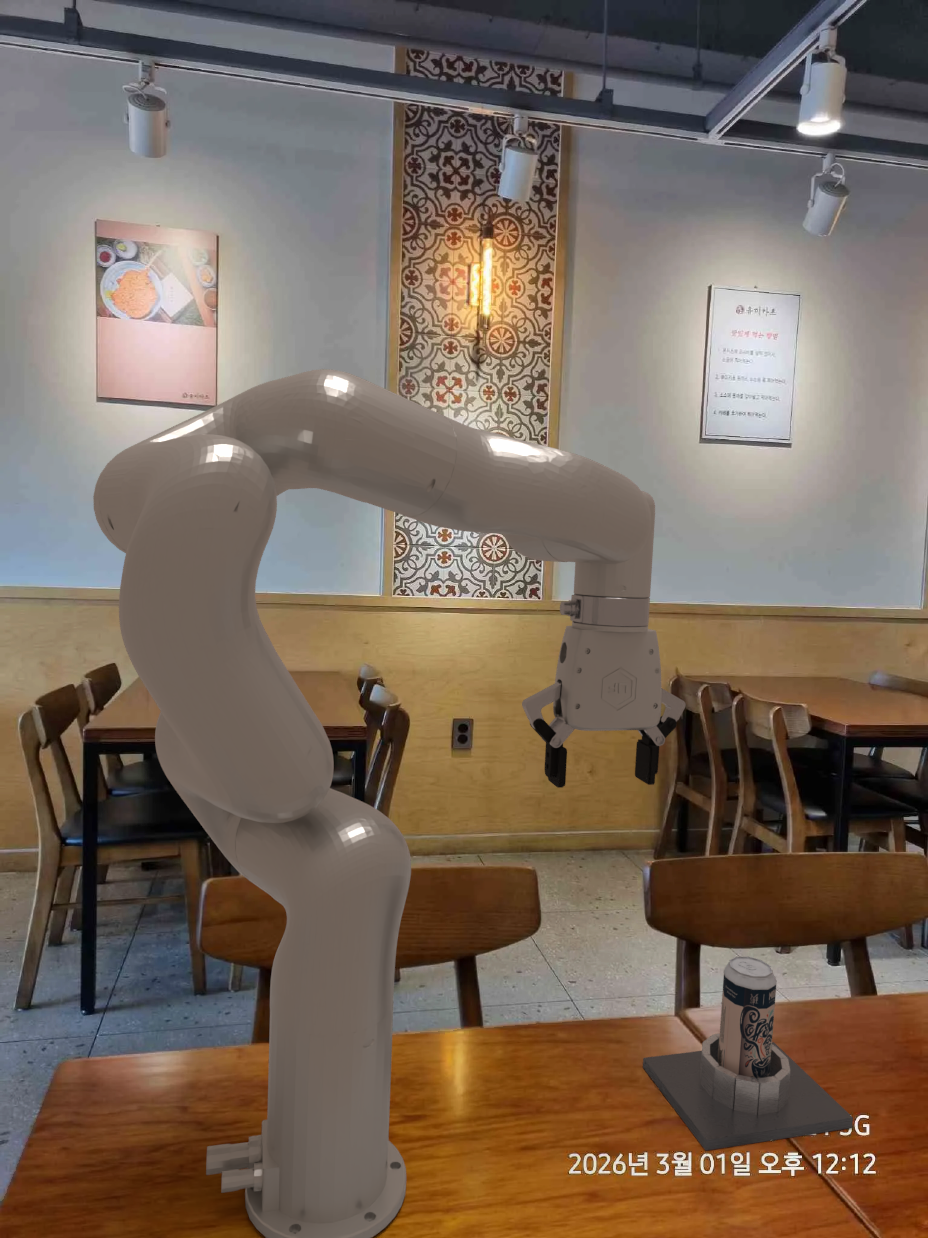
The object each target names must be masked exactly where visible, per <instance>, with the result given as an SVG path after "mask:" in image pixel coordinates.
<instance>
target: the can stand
mask: <svg viewBox="0 0 928 1238" xmlns="http://www.w3.org/2000/svg"><path fill="white" fill-rule="evenodd" d="M719 1036H720V1033H715V1034H712V1035H710V1036H709V1037H707V1038H706V1039H705V1040H704V1041H702V1044H701V1045H702V1046H701V1050H697V1051H689V1052H681V1053H672V1054H664V1055H656V1056H647V1057H643V1058H642V1059H643V1060H642V1069H643V1070H644V1071H645V1073H647V1075H648V1077H650V1079H651V1080H652V1082H653V1083H654V1084H655V1085H656V1088H658V1089H659V1092H661V1093H662V1095H663V1096H664V1097H665V1099H666V1100H667V1102H669V1104H670V1106H671V1107H672V1108H673V1110H674V1111H675V1112H676V1113H677V1115H678V1116H679V1117H680V1119H681V1120H682V1121H683V1122H684V1124H685V1126H686V1127H687V1128H688V1129H689V1131H690V1132H691V1133H692V1134H693V1136H694V1138H695V1139H696V1140H697V1141H698V1143H699V1145H701V1147H702V1149H704V1151H706V1152H707V1151H713V1150H719V1149H724V1148H725V1149H726V1148H733V1147H738V1146H745V1145H750V1144H757V1143H758V1144H759V1143H764V1142H769V1141H770V1142H771V1141H776V1140H783V1139H788V1138H789V1139H790V1138H797V1137H801V1136H802V1137H803V1136H809V1135H816V1134H822V1133H827V1132H829V1133H830V1132H834V1131H841V1130H847V1129H852V1128H853V1123H854V1122H853V1121H854V1117H853V1116H852V1114H850V1113H849V1112H848V1111H847V1110H846V1109H845V1108H844V1107H843V1106H842V1105H840V1103H839V1102H838V1101H836V1100H835V1099H834V1098H833V1097H832V1096H831V1095H830V1094H829V1093H828V1092H827V1091H826V1090H824V1089H825V1088H823V1087H822V1086H820V1085H819V1083H817V1082H816V1081H815V1080H814V1079H813V1078H812V1077H811V1076H810V1075H809V1074H808V1073H807V1072H806V1070H804V1069H803V1068H801V1067H800V1065H798V1063H796V1061H794V1059H792V1058H791V1056H789V1055H788V1054H787V1053H786V1052H785V1051H783V1050H782V1048H781V1047H779V1045H778V1044H777V1043H775V1042H774V1041H772V1048H771V1061H770V1075H769V1077H764V1078H752V1077H747V1076H742V1075H737V1074H735V1073H733V1072H731V1071H729V1070H727V1069H725V1068H723V1067H721V1066H720V1065H719V1064H718V1050H719Z"/></svg>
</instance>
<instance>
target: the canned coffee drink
mask: <svg viewBox="0 0 928 1238" xmlns="http://www.w3.org/2000/svg"><path fill="white" fill-rule="evenodd" d="M722 981H723V983H722V996H721V1009H720V1010H721V1011H720V1020H719V1021H720V1024H719V1025H720V1026H719V1034H720V1036H719V1050H718V1064H719V1065H720V1066H721V1067H723V1068H725V1069H727V1070H729V1071H731V1072H733V1073H735V1074H737V1075H742V1076H747V1077H752V1078H764V1077H769V1075H770V1061H771V1048H772V1042H773V1035H774V1033H773V1032H774V1021H775V1020H774V1019H775V1007H776V996H777V995H776V994H777V984H778V983H777V982H778V981H777V978H776V976H775V974H774V972H773V969H772V967H771V965H770V964H768V963H766V962H765V961H763V960H762V959H759V958H756V957H751V956H734V957H733V958H731V959H729V962H728V963H727V964H726V965H725V966H724V968H723V980H722Z"/></svg>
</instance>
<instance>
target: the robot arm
mask: <svg viewBox="0 0 928 1238" xmlns="http://www.w3.org/2000/svg"><path fill="white" fill-rule="evenodd" d="M301 489H302V490H303V489H304V490H305V489H317V490H323V491H327V492H331V493H334V494H338V495H341V496H344V497H347V498H350V499H353V500H356V501H359V502H361V503H367V504H369V505H372V506H375V507H379V508H381V509H384V510H387V511H390V512H393V513H396V514H399V515H402V516H404V517H407V518H409V519H413V520H416V521H418V522H420V523H424V524H427V525H430V526H434V527H437V528H444V529H450V530H455V531H461V532H468V533H477V534H478V533H480V534H481V533H482V534H498V535H499V534H502V535H503V537H504V539H505V541H506V542H507V543H508V545H509V546H510V547H511V548H512V549H513V550H514V551H515V552H516V553H518V554H520V555H522V556H523V557H525V558H528V559H531V560H535V561H541V562H542V561H543V562H555V563H556V562H557V563H558V562H559V563H570V562H571V563H575V564H574V565H575V566H574V576H573V577H574V581H573V582H574V583H573V594H572V595H571V599H570V600H568V601H561V602H560V604H559V613H560V615H562V616H568V617H569V620H570V621H571V625H566V626H565V629H564V634H563V636H562V641H561V644H560V645H561V646H560V650H559V654H558V659H557V665H556V671H555V680H554V683H553V684H551V685H549V686H547V687H545V688H544V689H542V690H540V691H538V692H535V693H534V694H532V695H530V696H529V697H527V698H525V699H523V701H522V702H521V707H522V709H523V710H524V713H525V715H526V717H527V720H528V721H529V725H530V727H531V728H532V729H533V730H534V731H535V733H537V735H538V736H539V737H540V738H541V739H542V741H544V742H545V750H544V751H545V753H544V775H545V776H546V777H547V779H548V781H549V782H550V783H551V784H552V785H554V787H556V788H559V789H560V788H564V787H566V779H567V778H566V777H567V762H568V761H567V760H568V759H567V758H568V750H567V748H566V747H565V746H564V743H565V741H566V740H568V738H569V736H570V735H571V734H573V732H574V731H575V730H576V731H577V730H578V731H587V732H588V731H589V732H591V731H592V732H595V731H596V732H597V731H598V732H599V731H600V732H601V731H602V732H603V731H604V732H605V731H608V732H609V731H638V733H639V734H640V736H641V739H638V740H637V741H636V748H635V749H636V750H635V751H636V752H635V762H634V763H635V766H634V767H635V768H634V776H635V778H636V779H638V780H640V781H641V782H643V783H645V784H647V785H648V786H649V785H650V786H653V785H655V783H656V775H657V774H658V772H659V771H658V770H659V762H660V761H659V759H660V757H659V756H660V747H661V746H663V745H664V744H665V742H666V738H667V737H668V736H669V735H670V734H671V733H673V731H674V730H675V729H676V728H677V725H678V723H677V722H678V721H679V720H680V718H681V716H682V714H683V712H684V710H685V708H686V706H687V705H686V701H684V700H683V699H681V698H680V697H678V696H676V695H674V694H672V693H671V692H669V691H667V690H666V689H664V688H662V667H661V666H662V664H661V656H660V655H661V653H660V646H659V641H658V633H657V630H655V629H650V628H649V621H650V603H651V598H650V597H651V589H652V588H651V586H652V585H651V584H652V572H653V570H652V569H653V567H652V566H653V556H654V555H653V554H654V553H653V552H654V538H655V523H656V522H655V521H656V520H655V519H656V505H655V500H654V498H653V496H652V495H651V494H649V492H646V491H645V490H644V491H643V490H641V488H639V486H638V485H637V484H636V483H635V482H634V481H632V480H631V479H630V478H629V477H628V476H626V475H624V474H622V473H620V472H618V471H616V470H615V469H612V468H610V467H608V466H607V465H604V464H601V463H599V462H597V461H595V460H593V459H590V458H588V457H585V456H582V455H579V454H576V453H574V452H571V451H567V450H562V449H559V448H555V447H552V446H546V445H544V444H539V443H535V442H531V441H530V442H529V441H527V440H523V439H518V438H515V437H512V436H508V435H506V434H505V435H504V434H501V433H497V432H491V431H487V430H483V429H478V428H475V427H471V426H469V425H465V424H464V423H461V422H459V421H457V420H455V419H452V418H449V417H447V416H446V415H444V414H441V413H439V412H437V411H435V410H433V409H430V408H427V407H425V406H424V405H421V404H419V403H417V402H416V401H413V400H410V399H408V398H406V397H404V396H402V395H400V394H397V393H396V392H393V391H390V390H388V389H386V388H384V387H382V386H380V385H378V384H375V383H373V382H371V381H369V380H366V379H364V378H362V377H359V376H356V375H355V374H352V373H350V372H347V371H343V370H338V369H337V370H336V369H327V368H326V369H325V368H321V369H312V370H308V371H307V370H306V371H304V372H299V373H295V374H292V375H289V376H288V375H287V376H285V377H282V378H277V379H274V380H269V381H266V382H263V383H261V384H258V385H256V386H253V387H251V388H249V389H247V390H244V391H243V392H241V393H239V394H237V395H235V396H233V397H230V398H229V399H228V400H225V401H223V402H221V403H219V404H217V405H214V406H213V407H211V408H209V409H207V410H205V411H203V412H201V413H198V414H197V415H194V416H193V417H190V418H188V419H186V420H184V421H182V422H180V423H178V424H176V425H174V426H171V427H169V428H167V429H165V430H162V431H161V432H158V433H157V434H154V435H151V436H149V437H147V438H146V439H144V440H142V441H139V442H136V443H135V444H133V445H131V446H129V447H127V448H124V449H123V450H122V451H120V452H119V453H117V454H116V455H115V456H113V458H112V459H110V460H109V462H107V463H106V465H105V466H104V468H103V470H101V472H100V474H99V476H98V477H97V480H96V483H95V486H94V490H93V491H94V492H93V497H92V498H93V500H92V501H93V512H94V516H95V520H96V522H97V524H98V526H99V528H100V530H101V532H102V533H103V534H104V536H105V537H106V539H108V541H109V542H110V543H111V544H112V545H114V547H116V548H117V549H118V550H119V551H121V552H122V553H124V554H125V557H124V562H123V566H122V573H121V580H120V586H119V587H120V588H119V595H118V619H119V621H118V622H119V628H120V634H121V638H122V641H123V645H124V648H125V651H126V652H127V655H128V658H129V659H130V663H131V664H132V666H133V668H134V670H135V672H136V674H137V675H138V677H139V679H140V680H141V683H142V684H143V685H144V687H145V689H146V690H147V692H148V693H149V695H150V696H151V698H152V700H153V701H154V703H155V704H156V706H157V708H158V709H159V710H160V712H159V715H158V718H157V721H156V724H155V726H156V727H155V731H154V732H155V733H154V735H155V736H154V742H155V743H154V744H155V745H154V746H155V751H156V755H157V759H158V762H159V764H160V767H161V769H162V771H163V773H164V775H165V776H166V778H167V780H168V781H169V782H170V784H171V785H172V787H173V789H174V790H175V791H176V793H177V794H178V795H179V797H180V798H181V800H182V801H183V802H184V804H185V805H186V806H187V808H188V809H189V811H190V812H191V813H192V814H193V816H194V817H195V819H196V820H197V821H198V823H199V824H200V826H202V828H203V830H204V831H205V832H206V834H207V835H208V836H209V838H210V839H211V840H212V842H213V843H214V844H215V845H216V847H217V848H218V850H219V851H220V852H221V853H222V855H223V856H224V857H225V859H226V860H227V861H228V862H229V863H230V864H231V865H232V866H233V868H234V869H235V870H236V871H237V872H238V873H239V874H241V876H243V877H244V878H246V879H247V880H248V881H249V882H250V883H252V884H253V885H255V886H256V887H258V889H260V890H262V891H263V892H265V893H266V894H268V895H269V896H271V898H273V900H274V901H276V902H277V903H279V904H280V905H281V906H283V908H284V910H285V912H286V913H285V914H286V925H285V930H284V932H283V935H282V938H281V940H280V943H279V944H278V948H277V950H276V952H275V954H274V955H275V956H274V959H273V962H272V967H271V975H270V982H269V983H270V987H269V1034H268V1035H269V1037H268V1038H269V1040H268V1042H269V1043H268V1044H269V1045H268V1073H267V1074H268V1078H267V1080H268V1081H267V1083H268V1086H267V1117H266V1119H263V1120H262V1121H261V1134H258V1135H252V1136H248V1142H240V1143H223V1144H216V1145H209V1146H206V1164H205V1166H206V1170H205V1175H206V1176H210V1175H211V1176H212V1175H217V1174H221V1187H220V1188H221V1192H220V1193H222V1194H223V1193H231V1192H235V1191H236V1192H237V1191H239V1190H243V1189H245V1192H244V1198H245V1199H244V1201H245V1209H246V1212H247V1214H248V1215H247V1216H248V1217H249V1218H248V1219H249V1220H250V1221H251V1223H252V1224H253V1226H254V1227H255V1228H256V1230H257V1231H259V1233H261V1235H262V1236H264V1237H265V1238H373V1237H374V1236H376V1235H377V1234H378V1233H380V1232H381V1231H382V1230H384V1229H385V1228H386V1227H387V1226H389V1224H390V1223H391V1222H392V1220H394V1219H395V1218H396V1216H397V1215H398V1212H399V1211H400V1209H401V1207H402V1205H403V1203H404V1199H405V1198H406V1191H407V1167H406V1164H405V1161H404V1158H403V1156H402V1155H401V1153H400V1151H399V1150H398V1148H397V1147H396V1146H395V1145H394V1144H393V1142H391V1141H390V1139H389V1135H390V1134H389V1130H390V1108H391V1107H390V1105H391V1080H392V1078H391V1077H392V1056H393V1055H392V1051H393V1028H394V1027H393V1024H394V992H395V971H396V968H395V967H396V958H397V957H396V956H397V946H398V939H399V938H398V937H399V933H400V926H401V920H402V917H403V913H404V909H405V905H406V900H407V897H408V893H409V888H410V884H411V883H410V881H411V876H412V860H411V859H412V858H411V853H410V849H409V846H408V843H407V841H406V839H405V836H404V835H403V833H402V832H401V830H400V829H399V828H398V826H397V825H396V824H395V823H394V822H393V820H391V819H390V818H389V817H388V816H386V815H385V813H382V811H380V810H378V809H377V808H375V807H374V806H372V805H370V804H368V803H366V802H364V801H361V800H360V799H357V798H355V797H352V796H350V795H348V794H346V793H344V792H341V791H338V790H336V789H333V788H332V787H331V786H332V782H333V777H334V770H335V769H334V766H335V765H334V754H333V748H332V745H331V742H330V741H331V740H330V739H329V737H328V735H327V733H326V732H327V731H326V730H325V728H324V726H323V724H322V722H321V721H320V719H319V718H318V716H317V714H316V713H315V712H314V710H313V709H312V707H311V705H310V704H309V702H308V701H307V699H306V697H305V695H304V694H303V693H302V691H301V690H300V688H299V686H298V685H297V683H296V681H295V680H294V677H292V674H291V673H290V672H289V670H288V668H287V667H286V665H285V663H284V662H283V660H282V658H281V656H280V655H279V654H278V651H276V649H275V646H274V644H273V643H272V641H271V638H270V637H269V635H268V634H267V631H266V628H265V627H264V625H263V622H262V620H261V618H260V615H259V612H258V608H257V601H256V600H257V599H256V586H257V585H256V584H257V579H258V574H259V573H258V572H259V568H260V564H261V561H262V558H263V555H264V551H265V549H266V547H267V544H268V543H269V540H270V537H271V535H272V532H273V529H274V526H275V522H276V517H277V511H278V498H277V497H278V496H279V495H281V494H283V493H284V492H286V491H288V490H301ZM550 704H552V709H553V710H552V711H553V715H554V718H553V719H552V721H551V722H550V723H549V724H548V723H547V721H545V719H544V716H543V714H542V710H543V708H544V707H547V706H549V705H550ZM662 704H663V705H664V707H665V709H664V711H663V714H662Z"/></svg>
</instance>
